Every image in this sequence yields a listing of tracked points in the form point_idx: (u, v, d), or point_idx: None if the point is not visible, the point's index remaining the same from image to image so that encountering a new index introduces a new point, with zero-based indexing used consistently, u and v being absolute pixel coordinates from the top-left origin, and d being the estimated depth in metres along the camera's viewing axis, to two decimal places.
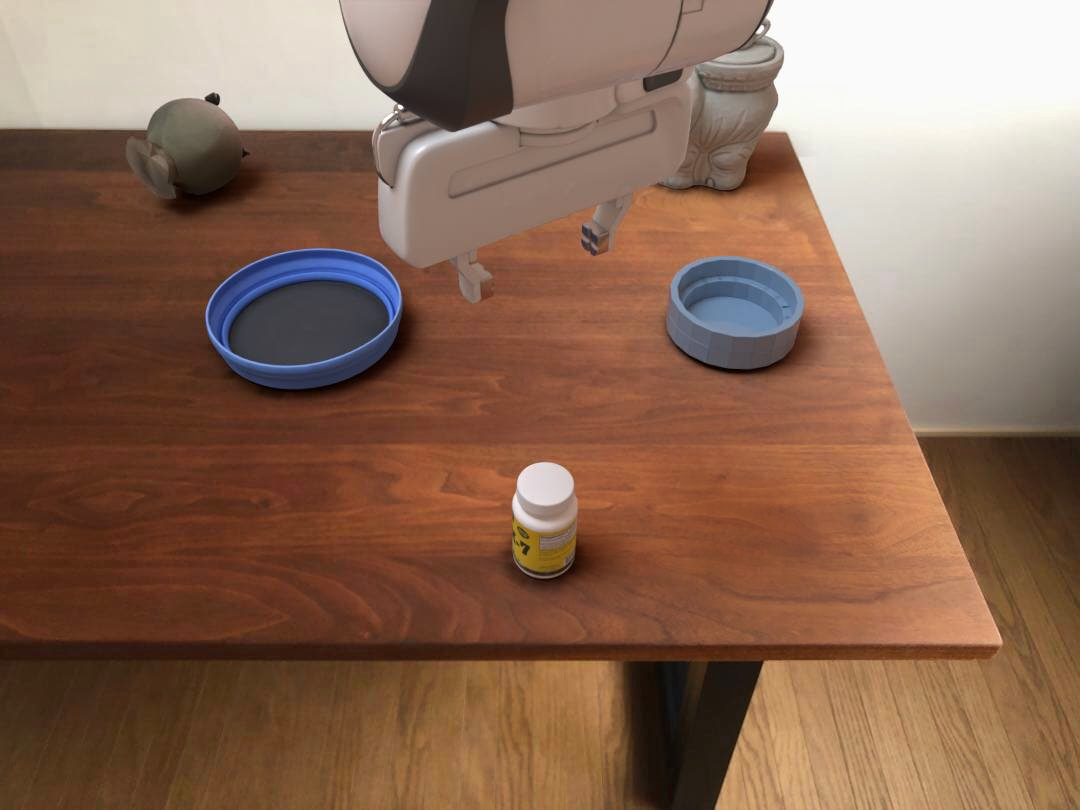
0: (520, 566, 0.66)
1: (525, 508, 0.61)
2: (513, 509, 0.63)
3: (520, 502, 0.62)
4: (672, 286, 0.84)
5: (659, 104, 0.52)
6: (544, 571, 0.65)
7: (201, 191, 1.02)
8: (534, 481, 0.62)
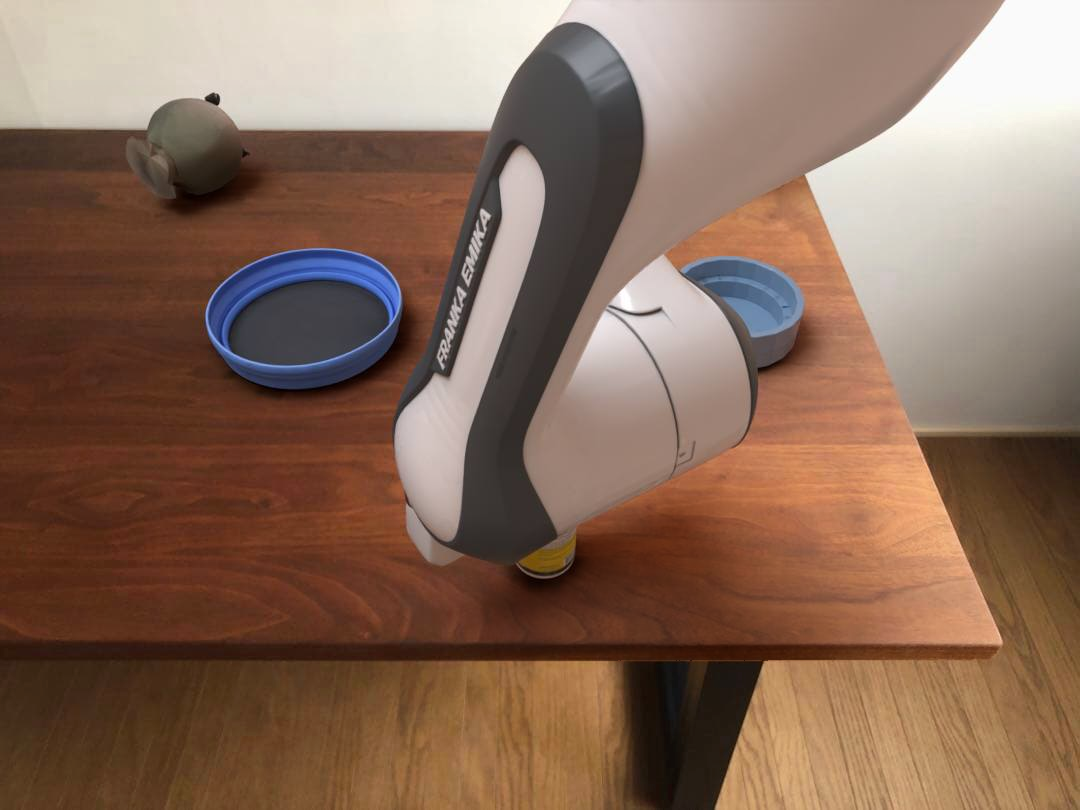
0: (520, 566, 0.66)
1: None
2: None
3: None
4: None
5: None
6: (544, 571, 0.65)
7: (201, 191, 1.02)
8: None
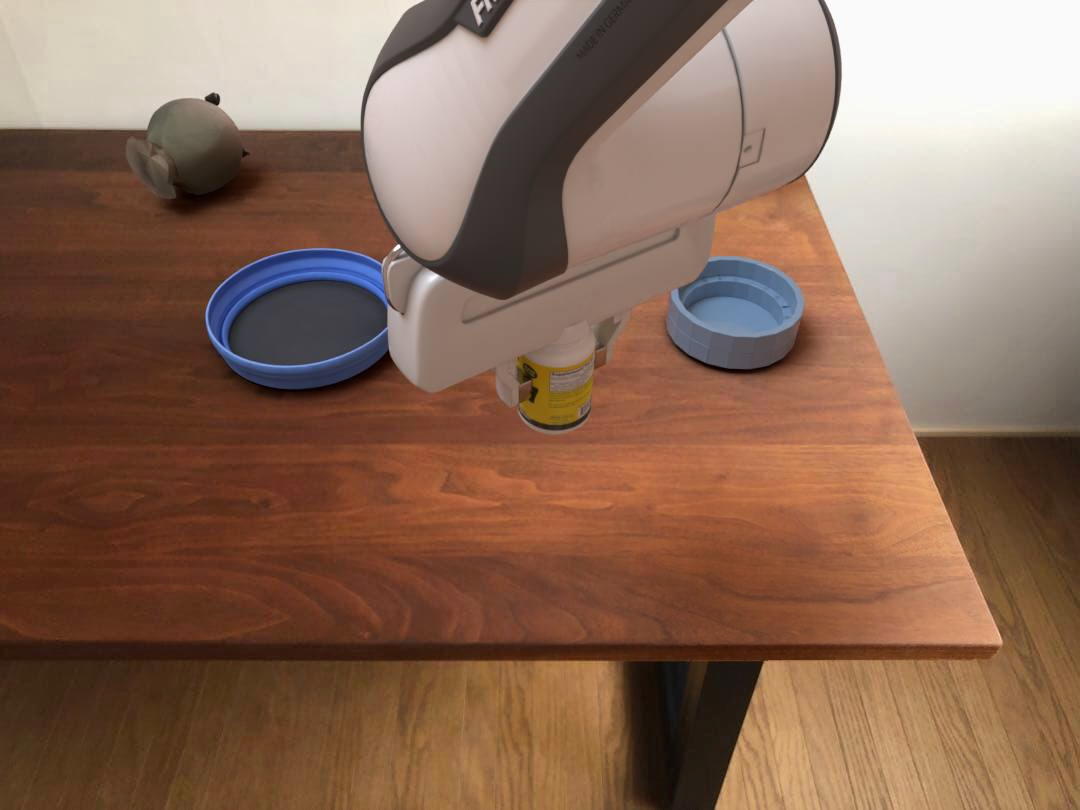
0: (526, 420, 0.56)
1: None
2: None
3: None
4: None
5: None
6: (555, 423, 0.55)
7: (201, 191, 1.02)
8: None
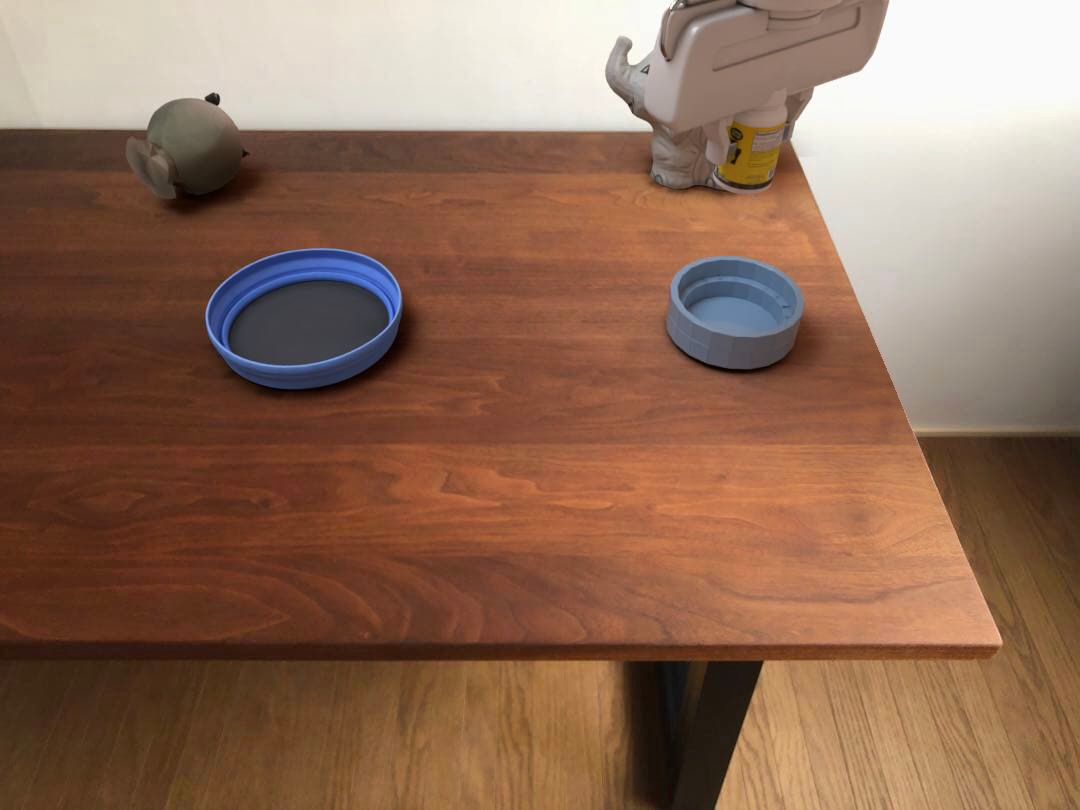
0: (724, 183, 0.70)
1: None
2: None
3: None
4: (672, 286, 0.84)
5: (865, 2, 0.64)
6: (749, 183, 0.69)
7: (201, 191, 1.02)
8: None
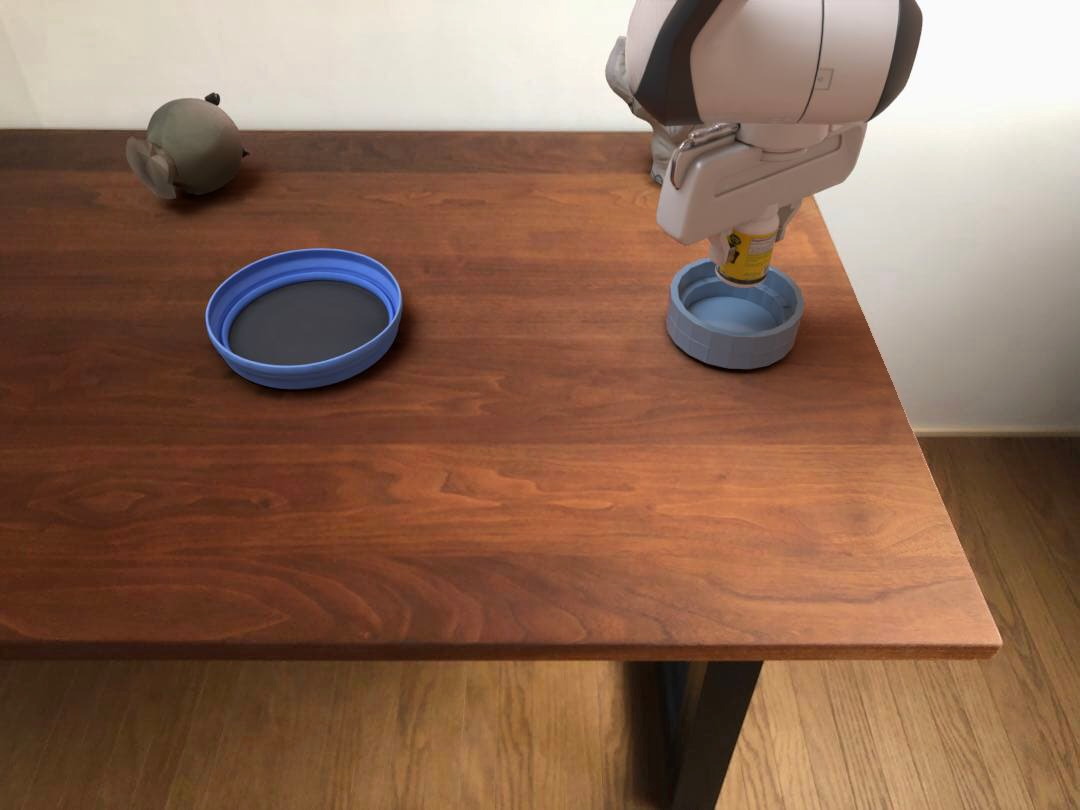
0: (724, 278, 0.81)
1: None
2: None
3: None
4: (672, 286, 0.84)
5: (846, 130, 0.75)
6: (747, 279, 0.80)
7: (201, 191, 1.02)
8: None
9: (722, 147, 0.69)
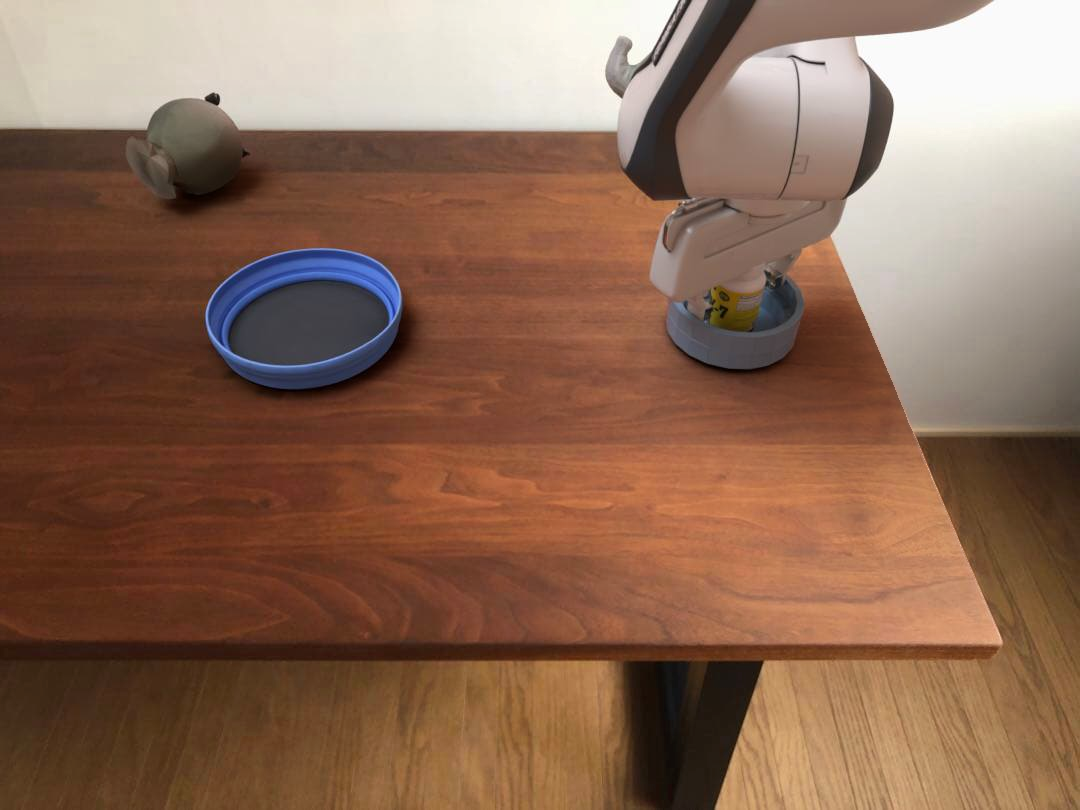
0: None
1: None
2: None
3: None
4: None
5: None
6: None
7: (201, 191, 1.02)
8: None
9: (711, 212, 0.73)
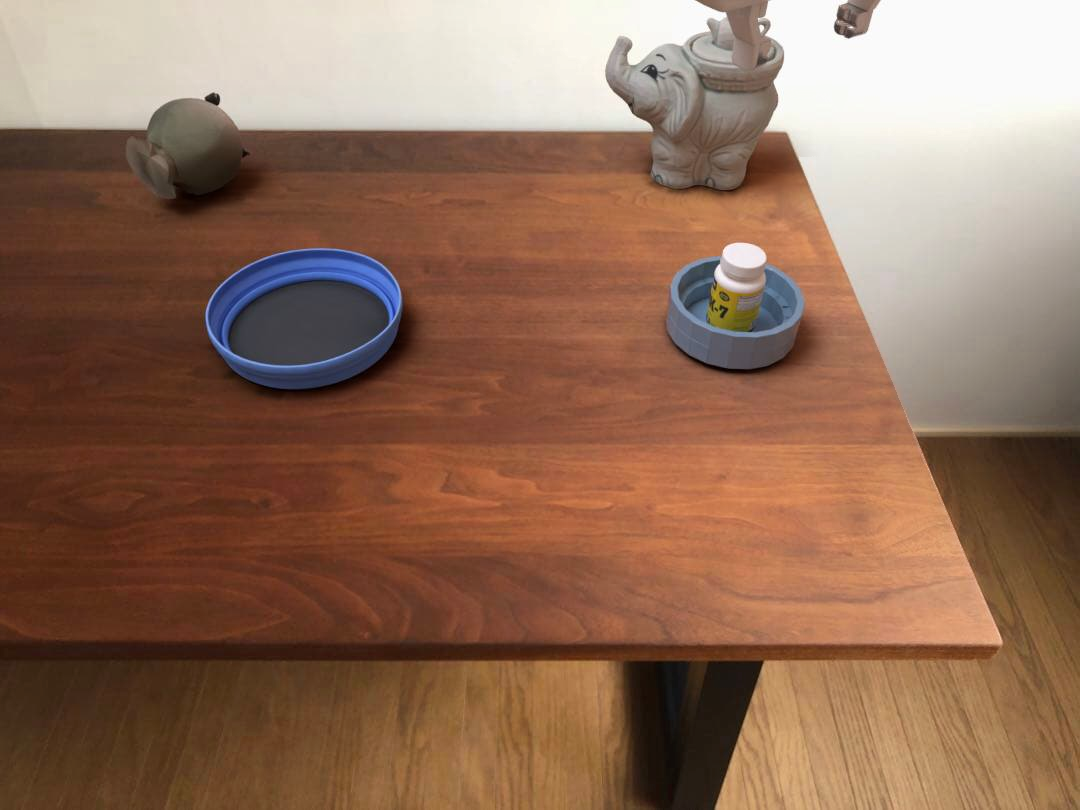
0: None
1: (730, 273, 0.80)
2: (716, 278, 0.82)
3: (725, 269, 0.80)
4: (672, 286, 0.84)
5: None
6: None
7: (201, 191, 1.02)
8: (735, 253, 0.81)
9: None
